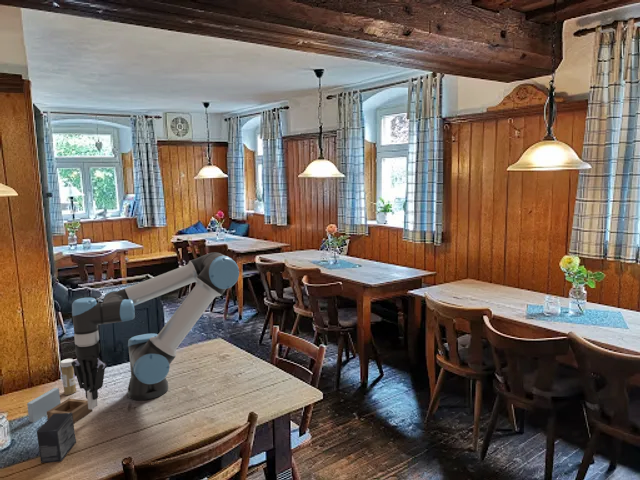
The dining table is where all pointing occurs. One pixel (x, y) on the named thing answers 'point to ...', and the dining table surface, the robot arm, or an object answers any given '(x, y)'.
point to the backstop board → (43, 404)
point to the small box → (56, 437)
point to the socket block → (71, 409)
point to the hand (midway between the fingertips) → (92, 407)
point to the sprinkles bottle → (68, 376)
